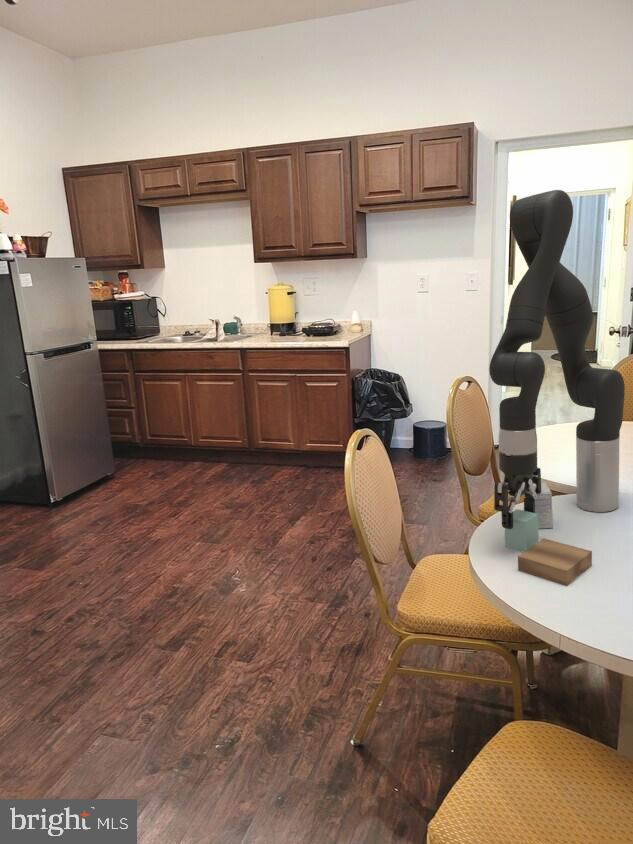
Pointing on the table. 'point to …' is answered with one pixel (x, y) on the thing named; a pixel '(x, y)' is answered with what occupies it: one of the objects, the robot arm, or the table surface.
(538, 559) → the walnut base
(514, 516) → the teal block
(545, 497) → the medicine box
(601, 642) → the table surface
